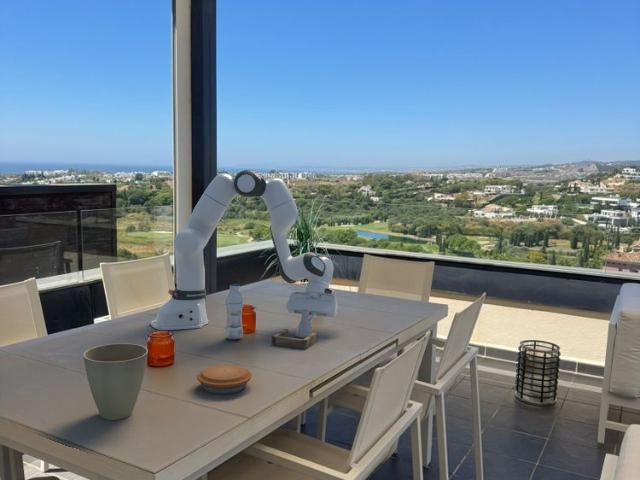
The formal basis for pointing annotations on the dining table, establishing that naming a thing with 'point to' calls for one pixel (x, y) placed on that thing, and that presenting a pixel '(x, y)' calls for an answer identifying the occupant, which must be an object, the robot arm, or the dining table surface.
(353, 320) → the dining table surface
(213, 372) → the pie
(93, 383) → the plant pot
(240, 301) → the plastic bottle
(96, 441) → the dining table surface
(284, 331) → the walnut bay
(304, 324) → the flask
